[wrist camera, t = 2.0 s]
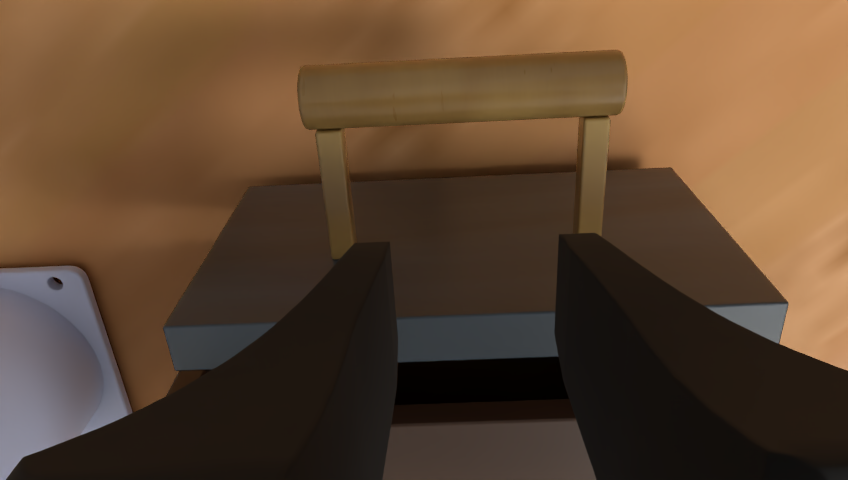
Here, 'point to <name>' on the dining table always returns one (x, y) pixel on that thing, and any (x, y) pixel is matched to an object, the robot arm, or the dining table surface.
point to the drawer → (462, 229)
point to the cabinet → (478, 440)
